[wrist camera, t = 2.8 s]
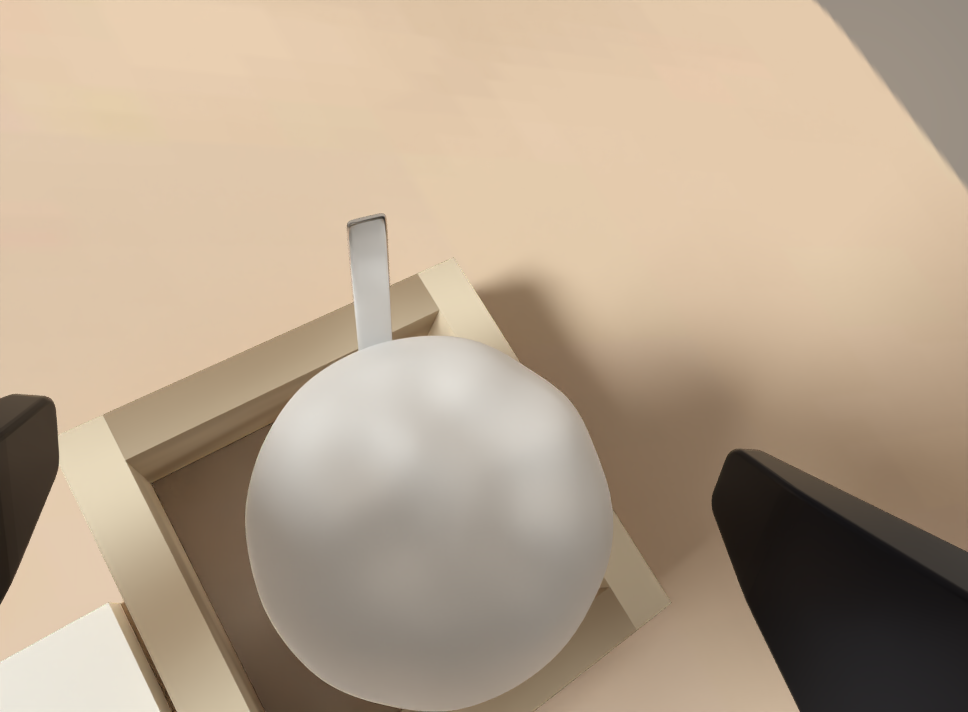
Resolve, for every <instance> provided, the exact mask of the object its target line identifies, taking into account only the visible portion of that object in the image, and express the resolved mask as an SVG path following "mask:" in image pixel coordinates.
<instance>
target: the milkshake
mask: <svg viewBox="0 0 968 712" xmlns="http://www.w3.org/2000/svg"><path fill="white" fill-rule="evenodd" d="M347 240H348V251H349V261H350V271H351V282H352V292H353V302H354V313H355V323H356V333H357V343H358V351H357V352H355V353H353V354H350V355H348V356H346V357H344V358H342V359H340V360H339V361H337V362H335V363H333V364H332V365H330V366H328V367H327V368H325V369H324V370H322V371H321V372H319V373H318V374H316V375H315V376H314V377H313V378H311V379H310V380H309V381H308V382H307V383H305V384H304V385H303V386H302V387H301V388H300V389H299V390H298V391H297V392H296V393H295V394H294V396H293V397H292V398H291V399H290V400H289V401H288V403H287V404H286V405H285V407H284V408H283V409H282V411H281V412H280V414H279V415H278V417H277V419H276V420H275V422H274V423H273V425H272V427H271V429H270V431H269V433H268V434H267V436H266V438H265V441H264V443H263V445H262V447H261V449H260V452H259V454H258V457H257V460H256V463H255V465H254V469H253V472H252V476H251V479H250V484H249V488H248V494H247V501H246V510H245V529H246V540H247V548H248V554H249V560H250V565H251V569H252V573H253V577H254V581H255V585H256V588H257V591H258V594H259V597H260V600H261V602H262V605H263V607H264V609H265V612H266V613H267V615H268V617H269V619H270V621H271V623H272V625H273V626H274V628H275V630H276V631H277V633H278V634H279V636H280V637H281V638H282V640H283V641H284V642H285V644H286V645H287V646H288V648H289V649H290V650H291V651H292V652H293V654H294V655H295V656H296V657H297V658H298V659H299V660H300V661H301V662H302V663H303V664H304V665H305V666H306V667H307V668H308V669H309V670H310V671H311V672H313V673H314V674H315V675H316V676H317V677H319V678H320V679H321V680H323V681H324V682H326V683H327V684H329V685H331V686H332V687H334V688H336V689H338V690H340V691H342V692H344V693H347V694H349V695H352V696H354V697H357V698H360V699H363V700H366V701H370V702H374V703H378V704H382V705H386V706H391V707H396V708H402V709H408V710H416V711H432V712H437V711H452V710H458V709H462V708H467V707H470V706H474V705H477V704H480V703H482V702H485V701H488V700H490V699H492V698H495V697H497V696H499V695H501V694H503V693H505V692H507V691H509V690H511V689H513V688H515V687H516V686H518V685H520V684H521V683H523V682H524V681H526V680H527V679H529V678H530V677H532V676H533V675H534V674H536V673H537V672H538V671H540V670H541V669H542V668H543V667H545V666H546V665H547V664H548V663H549V662H550V661H551V660H552V659H553V658H554V657H555V656H556V655H557V654H558V653H559V652H560V651H561V650H562V649H563V648H564V646H565V645H566V644H567V643H568V642H569V640H570V639H571V638H572V636H573V635H574V634H575V632H576V631H577V629H578V627H579V626H580V624H581V623H582V621H583V619H584V617H585V616H586V614H587V612H588V610H589V608H590V606H591V604H592V602H593V600H594V598H595V596H596V594H597V592H598V590H599V588H600V585H601V583H602V580H603V577H604V575H605V572H606V569H607V565H608V562H609V557H610V553H611V547H612V540H613V509H612V502H611V496H610V492H609V488H608V484H607V480H606V477H605V474H604V471H603V468H602V465H601V463H600V460H599V457H598V455H597V452H596V450H595V447H594V445H593V442H592V440H591V437H590V435H589V432H588V430H587V428H586V426H585V424H584V422H583V420H582V418H581V416H580V414H579V413H578V411H577V410H576V408H575V407H574V405H573V404H572V403H571V402H570V400H569V399H568V398H567V397H566V396H565V395H564V394H563V393H562V392H561V391H560V390H559V389H557V388H556V387H555V386H554V385H552V384H551V383H550V382H548V381H547V380H545V379H544V378H542V377H541V376H539V375H538V374H536V373H535V372H533V371H532V370H530V369H528V368H527V367H525V366H524V365H522V364H521V363H519V362H518V361H516V360H514V359H513V358H511V357H510V356H508V355H506V354H505V353H503V352H501V351H499V350H497V349H495V348H493V347H491V346H489V345H486V344H484V343H481V342H478V341H474V340H470V339H466V338H460V337H453V336H418V337H409V338H403V339H397V340H392V321H391V298H390V275H389V253H388V231H387V219H386V215H385V214H383V213H380V214H375V215H370V216H366V217H362V218H358V219H354V220H351V221H349V222H348V223H347Z"/></svg>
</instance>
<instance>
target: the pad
mask: <svg viewBox="0 0 968 712" xmlns="http://www.w3.org/2000/svg"><path fill="white" fill-rule="evenodd" d="M0 712H172V711H171V709H170V707H169V704H168V702H167V700H166V698H165V696H164V694H163V692H162V690H161V688H160V686H159V683H158V681H157V679H156V677H155V675H154V673H153V671H152V669H151V667H150V665H149V662H148V660H147V658H146V656H145V654H144V652H143V650H142V648H141V646H140V644H139V642H138V639H137V637H136V635H135V633H134V631H133V629H132V627H131V625H130V623H129V621H128V618H127V616H126V614H125V612H124V610H123V608H122V606H121V604H120V603H110V602H108V603H106V604H105V605H103V606H101V607H99V608H97V609H96V610H94V611H92V612H90V613H88V614H86V615H85V616H83V617H81V618H79V619H77V620H76V621H74V622H72V623H70V624H68V625H66V626H65V627H63V628H61V629H59V630H57V631H56V632H54V633H52V634H50V635H48V636H46V637H45V638H43V639H41V640H39V641H37V642H36V643H34V644H32V645H30V646H28V647H26V648H25V649H23V650H21V651H19V652H17V653H16V654H14V655H12V656H10V657H8V658H6V659H5V660H3V661H1V662H0Z"/></svg>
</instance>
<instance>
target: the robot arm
mask: <svg viewBox="0 0 968 712" xmlns="http://www.w3.org/2000/svg"><path fill="white" fill-rule="evenodd" d="M58 466H59V445H58V431H57V417H56V408H55V405H54V402H53V401H52V399H50V398H49V397H46V396H37V395H24V394H12V395H8V396H5V397H3V398H0V604H1V602H2V600H3V599H4V597H5V595H6V593H7V591H8V589H9V587H10V585H11V583H12V581H13V579H14V577H15V574H16V572H17V570H18V568H19V565H20V563H21V560H22V558H23V555H24V553H25V551H26V548H27V546H28V543H29V541H30V538H31V536H32V534H33V531H34V529H35V526H36V524H37V521H38V519H39V516H40V514H41V512H42V509H43V507H44V504H45V502H46V499H47V497H48V495H49V492H50V490H51V487H52V485H53V482H54V480H55V477H56V475H57V471H58ZM712 510H713V514H714V516H715V519H716V522H717V525H718V527H719V530H720V533H721V535H722V538H723V541H724V543H725V546H726V549H727V552H728V554H729V557H730V560H731V562H732V565H733V568H734V570H735V573H736V576H737V579H738V581H739V584H740V587H741V589H742V592H743V594H744V597H745V599H746V601H747V604H748V606H749V608H750V610H751V612H752V615H753V617H754V619H755V621H756V623H757V625H758V627H759V629H760V631H761V633H762V635H763V637H764V639H765V641H766V643H767V645H768V647H769V649H770V651H771V654H772V656H773V658H774V660H775V662H776V664H777V666H778V668H779V670H780V672H781V674H782V676H783V678H784V680H785V682H786V684H787V686H788V688H789V690H790V692H791V695H792V697H793V699H794V701H795V703H796V705H797V707H798V709H799V711H800V712H968V552H966V551H964V550H962V549H960V548H958V547H956V546H954V545H952V544H950V543H948V542H946V541H944V540H942V539H940V538H938V537H936V536H934V535H932V534H930V533H928V532H926V531H924V530H922V529H920V528H918V527H916V526H913V525H911V524H909V523H907V522H905V521H903V520H901V519H899V518H897V517H895V516H893V515H891V514H889V513H887V512H885V511H883V510H881V509H879V508H877V507H875V506H873V505H871V504H869V503H867V502H865V501H863V500H860V499H858V498H856V497H854V496H852V495H850V494H848V493H846V492H844V491H842V490H840V489H838V488H836V487H834V486H832V485H830V484H828V483H826V482H824V481H822V480H820V479H818V478H816V477H814V476H812V475H810V474H807V473H805V472H803V471H801V470H799V469H797V468H795V467H793V466H791V465H789V464H787V463H785V462H783V461H781V460H779V459H777V458H775V457H773V456H771V455H769V454H767V453H765V452H762V451H760V450H752V449H734V450H732V451H731V452H730V453H729V454H728V456H727V458H726V460H725V463H724V465H723V468H722V470H721V473H720V476H719V478H718V481H717V484H716V486H715V489H714V491H713V495H712Z"/></svg>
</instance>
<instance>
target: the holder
mask: <svg viewBox="0 0 968 712" xmlns="http://www.w3.org/2000/svg"><path fill="white" fill-rule="evenodd" d="M390 298H391V321H392V340H397V339H403V338H409V337H418V336H453V337H460V338H466V339H470V340H474V341H478V342H481V343H484V344H486V345H489V346H491V347H493V348H495V349H497V350H499V351H501V352H503V353H505V354H506V355H508V356H510V357H511V358H513V359H514V360H516V361H518V362H519V363H520V361H519V360H518V358H517V356H516V355H515V353H514V352H513V350H512V348H511V347H510V345H509V344H508V342H507V341H506V339H505V337H504V336H503V334H502V333H501V331H500V329H499V328H498V326H497V325H496V323H495V321H494V320H493V318H492V317H491V315H490V314H489V312H488V310H487V309H486V307H485V306H484V304H483V302H482V301H481V299H480V298H479V296H478V294H477V293H476V291H475V290H474V288H473V287H472V285H471V283H470V282H469V280H468V279H467V277H466V275H465V274H464V272H463V271H462V269H461V267H460V266H459V264H458V263H457V261H456V260H455V258H454V257H453V258H451V259H449V260H446V261H444V262H442V263H440V264H438V265H435V266H433V267H431V268H429V269H426V270H424V271H422V272H420V273H417V274H415V275H413V276H411V277H409V278H406V279H404V280H402V281H400V282H397V283H395V284H393V285H391V286H390ZM357 351H358V343H357V333H356V323H355V313H354V302H353V303H351V304H348V305H346V306H344V307H342V308H340V309H337V310H335V311H333V312H331V313H328V314H326V315H324V316H322V317H320V318H317V319H315V320H313V321H311V322H308V323H306V324H304V325H302V326H300V327H297V328H295V329H293V330H291V331H288V332H286V333H284V334H282V335H279V336H277V337H275V338H273V339H271V340H268V341H266V342H264V343H262V344H259V345H257V346H255V347H253V348H251V349H248V350H246V351H244V352H242V353H239V354H237V355H235V356H233V357H231V358H228V359H226V360H224V361H222V362H219V363H217V364H215V365H213V366H210V367H208V368H206V369H204V370H202V371H199V372H197V373H195V374H193V375H190V376H188V377H186V378H184V379H182V380H179V381H177V382H175V383H173V384H170V385H168V386H166V387H164V388H162V389H159V390H157V391H155V392H153V393H150V394H148V395H146V396H144V397H141V398H139V399H137V400H135V401H133V402H130V403H128V404H126V405H124V406H121V407H119V408H117V409H115V410H113V411H110V412H108V413H106V414H104V415H101V416H99V417H97V418H95V419H93V420H90V421H88V422H86V423H84V424H81V425H79V426H77V427H75V428H72V429H70V430H68V431H66V432H64V433H61V434H59V435H58V445H59V466H60V468H61V470H62V472H63V474H64V476H65V479H66V481H67V483H68V485H69V487H70V489H71V491H72V493H73V495H74V497H75V499H76V502H77V504H78V506H79V508H80V510H81V512H82V514H83V516H84V518H85V520H86V523H87V525H88V527H89V529H90V531H91V533H92V535H93V537H94V539H95V541H96V543H97V546H98V548H99V550H100V552H101V554H102V556H103V558H104V560H105V562H106V564H107V566H108V569H109V571H110V573H111V575H112V577H113V579H114V581H115V583H116V585H117V587H118V589H119V592H120V594H121V596H122V598H123V600H124V602H125V604H126V606H127V608H128V610H129V613H130V615H131V617H132V619H133V621H134V623H135V625H136V627H137V629H138V631H139V633H140V636H141V638H142V640H143V642H144V644H145V646H146V648H147V650H148V652H149V654H150V656H151V659H152V661H153V663H154V665H155V667H156V669H157V671H158V673H159V675H160V677H161V679H162V682H163V684H164V686H165V688H166V690H167V692H168V694H169V696H170V698H171V700H172V703H173V705H174V707H175V709H176V711H177V712H265V710H264V708H263V706H262V704H261V702H260V700H259V698H258V696H257V694H256V692H255V690H254V688H253V686H252V684H251V682H250V680H249V678H248V676H247V674H246V672H245V670H244V668H243V666H242V664H241V662H240V660H239V658H238V656H237V654H236V652H235V650H234V648H233V646H232V644H231V642H230V641H229V639H228V637H227V635H226V633H225V631H224V629H223V627H222V625H221V623H220V621H219V619H218V617H217V615H216V613H215V611H214V609H213V607H212V605H211V603H210V601H209V599H208V597H207V595H206V593H205V591H204V589H203V587H202V585H201V583H200V581H199V579H198V577H197V575H196V573H195V571H194V569H193V567H192V565H191V563H190V561H189V559H188V557H187V555H186V553H185V551H184V549H183V547H182V545H181V543H180V541H179V539H178V537H177V535H176V533H175V531H174V529H173V527H172V525H171V523H170V521H169V519H168V517H167V515H166V513H165V511H164V509H163V507H162V505H161V503H160V501H159V499H158V497H157V495H156V493H155V491H154V489H153V487H152V485H151V483H152V482H154V481H156V480H158V479H160V478H162V477H165V476H167V475H169V474H171V473H173V472H175V471H177V470H179V469H181V468H183V467H185V466H187V465H189V464H191V463H193V462H195V461H197V460H199V459H201V458H203V457H205V456H207V455H209V454H211V453H213V452H215V451H217V450H219V449H221V448H223V447H225V446H227V445H229V444H231V443H233V442H235V441H237V440H239V439H241V438H243V437H245V436H247V435H249V434H251V433H253V432H255V431H257V430H259V429H261V428H263V427H265V426H267V425H269V424H271V423H273V422H275V420H276V419H277V417H278V415H279V414H280V412H281V411H282V409H283V408H284V407H285V405H286V404H287V403H288V401H289V400H290V399H291V398H292V397H293V396H294V394H295V393H296V392H297V391H298V390H299V389H300V388H301V387H302V386H303V385H304V384H305V383H307V382H308V381H309V380H310V379H311V378H313V377H314V376H315V375H316V374H318V373H319V372H321V371H322V370H324V369H325V368H327V367H328V366H330V365H332V364H333V363H335V362H337V361H339V360H340V359H342V358H344V357H346V356H348V355H350V354H353V353H355V352H357ZM670 604H671V601H670V599H669V598H668V596H667V595H666V593H665V591H664V590H663V588H662V587H661V585H660V583H659V582H658V580H657V579H656V577H655V576H654V574H653V572H652V571H651V569H650V568H649V566H648V564H647V563H646V561H645V560H644V558H643V556H642V555H641V553H640V552H639V550H638V549H637V547H636V545H635V544H634V542H633V541H632V539H631V537H630V536H629V534H628V533H627V531H626V529H625V528H624V526H623V525H622V523H621V522H620V520H619V518H618V517H617V515H616V514H615V512H614V510H613V540H612V547H611V553H610V557H609V562H608V565H607V569H606V572H605V575H604V577H603V580H602V583H601V585H600V588H599V590H598V592H597V594H596V596H595V598H594V600H593V602H592V604H591V606H590V608H589V610H588V612H587V614H586V616H585V617H584V619H583V621H582V623H581V624H580V626H579V627H578V629H577V631H576V632H575V634H574V635H573V636H572V638H571V639H570V640H569V642H568V643H567V644H566V645H565V646H564V648H563V649H562V650H561V651H560V652H559V653H558V654H557V655H556V656H555V657H554V658H553V659H552V660H551V661H550V662H549V663H548V664H547V665H546V666H545V667H543V668H542V669H541V670H540V671H538V672H537V673H536V674H534V675H533V676H532V677H530V678H529V679H527V680H526V681H524V682H523V683H521V684H520V685H518V686H516V687H515V688H513V689H511V690H509V691H507V692H505V693H503V694H501V695H499V696H497V697H495V698H492V699H490V700H488V701H485V702H482V703H480V704H477V705H474V706H470V707H467V708H462V709H458V710H452V711H437V712H534V711H535V710H536V709H537V708H539V707H540V706H541V705H542V704H544V703H545V702H546V701H548V700H549V699H550V698H551V697H553V696H554V695H555V694H556V693H558V692H559V691H560V690H562V689H563V688H564V687H565V686H567V685H568V684H569V683H570V682H572V681H573V680H574V679H576V678H577V677H578V676H579V675H581V674H582V673H583V672H584V671H586V670H587V669H588V668H590V667H591V666H592V665H593V664H595V663H596V662H597V661H598V660H600V659H601V658H602V657H604V656H605V655H606V654H607V653H609V652H610V651H611V650H612V649H614V648H615V647H616V646H618V645H619V644H620V643H621V642H623V641H624V640H625V639H626V638H628V637H629V636H630V635H632V634H633V633H634V632H635V631H637V630H638V629H639V628H640V627H642V626H643V625H644V624H646V623H647V622H648V621H649V620H651V619H652V618H653V617H654V616H656V615H657V614H658V613H660V612H661V611H662V610H663V609H665V608H666V607H667V606H668V605H670ZM400 712H432V711H416V710H408V709H403V710H402V711H400Z"/></svg>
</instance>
